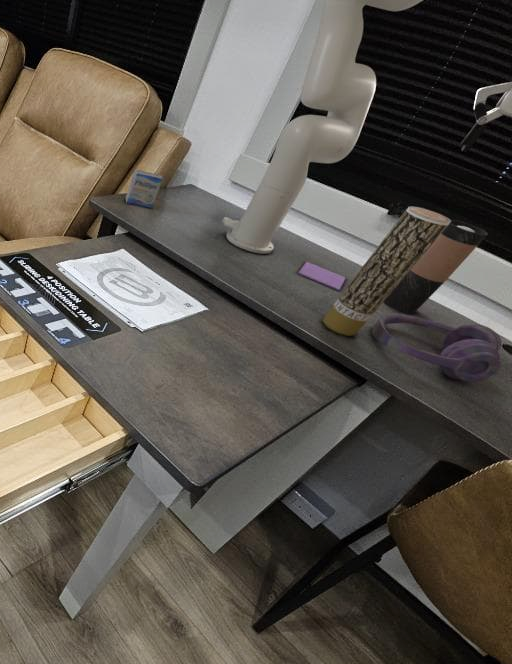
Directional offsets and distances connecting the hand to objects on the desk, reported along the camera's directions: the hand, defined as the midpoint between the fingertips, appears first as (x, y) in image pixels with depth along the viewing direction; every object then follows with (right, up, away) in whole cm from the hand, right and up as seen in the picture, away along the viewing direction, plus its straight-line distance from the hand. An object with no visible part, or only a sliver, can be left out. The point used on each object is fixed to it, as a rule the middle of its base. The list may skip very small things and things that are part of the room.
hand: (496, 159), depth 76 cm
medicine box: (-42, +17, +60) cm, 75 cm away
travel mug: (+14, -19, +35) cm, 42 cm away
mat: (-1, -10, +41) cm, 42 cm away
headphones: (+4, -32, +19) cm, 37 cm away
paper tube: (-11, -26, +21) cm, 35 cm away
